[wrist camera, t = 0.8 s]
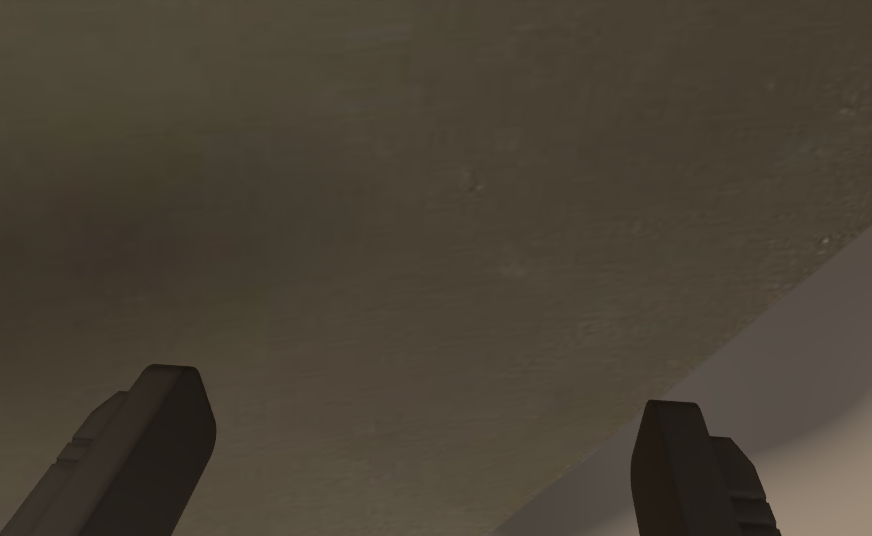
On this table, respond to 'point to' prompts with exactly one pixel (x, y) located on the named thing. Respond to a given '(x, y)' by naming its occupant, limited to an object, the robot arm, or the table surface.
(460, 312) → the table surface
